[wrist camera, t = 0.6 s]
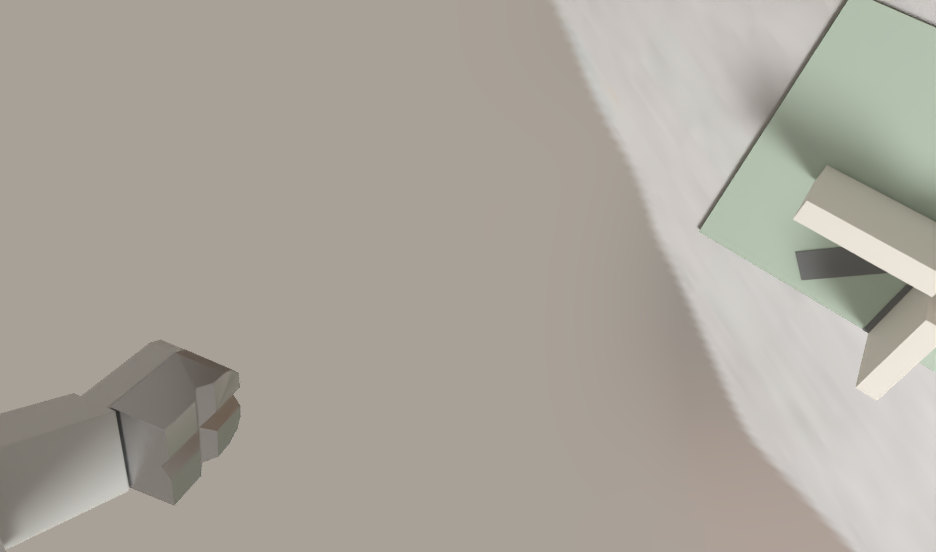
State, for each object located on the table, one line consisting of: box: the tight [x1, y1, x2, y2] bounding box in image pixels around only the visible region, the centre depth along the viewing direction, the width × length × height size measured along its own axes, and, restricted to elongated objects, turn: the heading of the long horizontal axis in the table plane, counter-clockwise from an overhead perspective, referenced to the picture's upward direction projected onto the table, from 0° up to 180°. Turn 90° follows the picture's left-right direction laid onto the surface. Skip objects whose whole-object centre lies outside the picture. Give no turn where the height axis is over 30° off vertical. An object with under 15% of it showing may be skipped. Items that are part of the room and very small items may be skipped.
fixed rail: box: [855, 287, 936, 401], centre depth 43 cm, size 10×2×8 cm, turn 161°
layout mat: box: [699, 0, 936, 372], centre depth 45 cm, size 20×20×1 cm
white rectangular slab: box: [793, 165, 936, 297], centre depth 43 cm, size 9×2×8 cm, turn 71°
